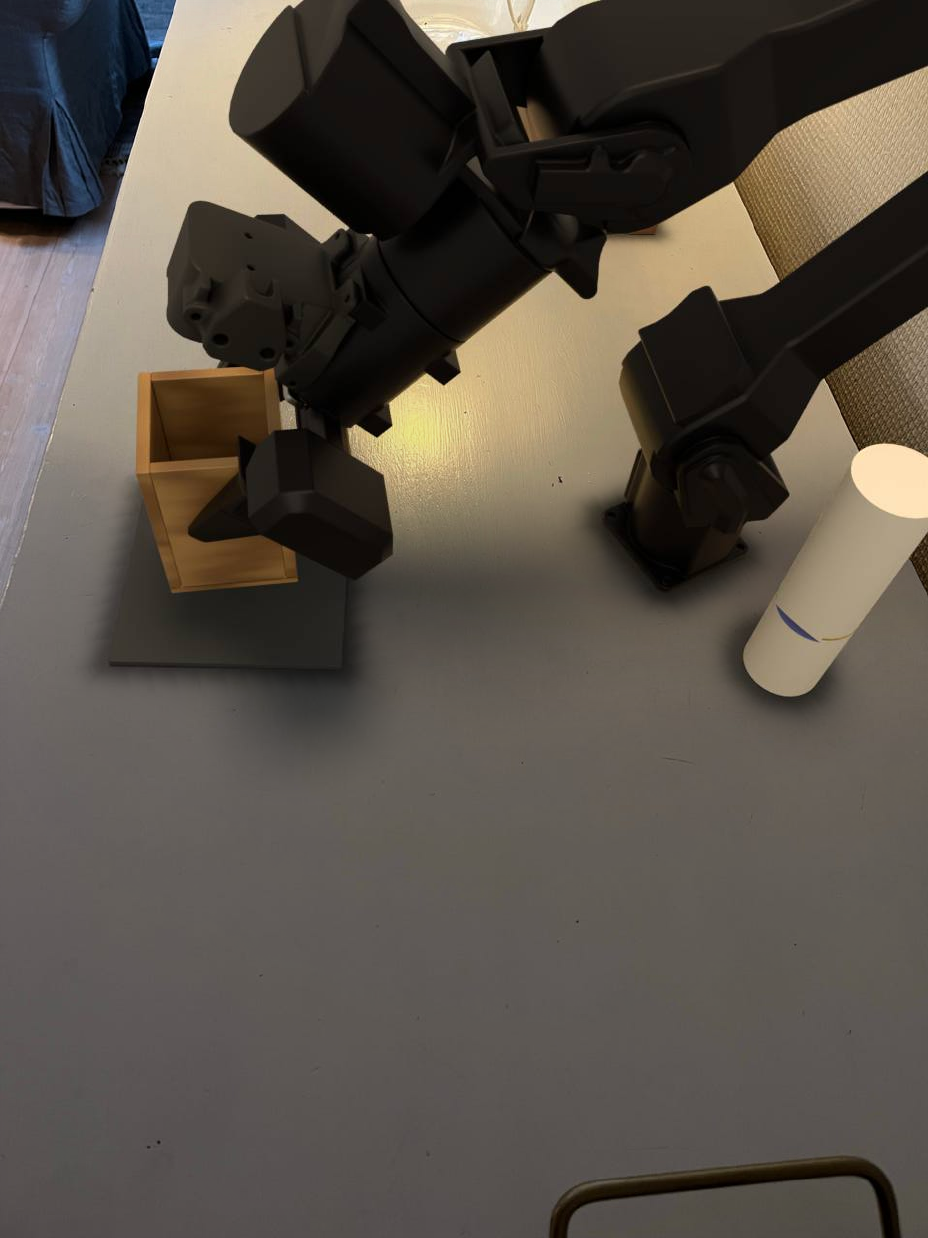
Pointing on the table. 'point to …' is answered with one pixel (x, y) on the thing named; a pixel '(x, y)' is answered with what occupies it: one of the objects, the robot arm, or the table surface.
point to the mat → (228, 618)
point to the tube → (841, 568)
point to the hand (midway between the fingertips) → (194, 482)
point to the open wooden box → (204, 471)
